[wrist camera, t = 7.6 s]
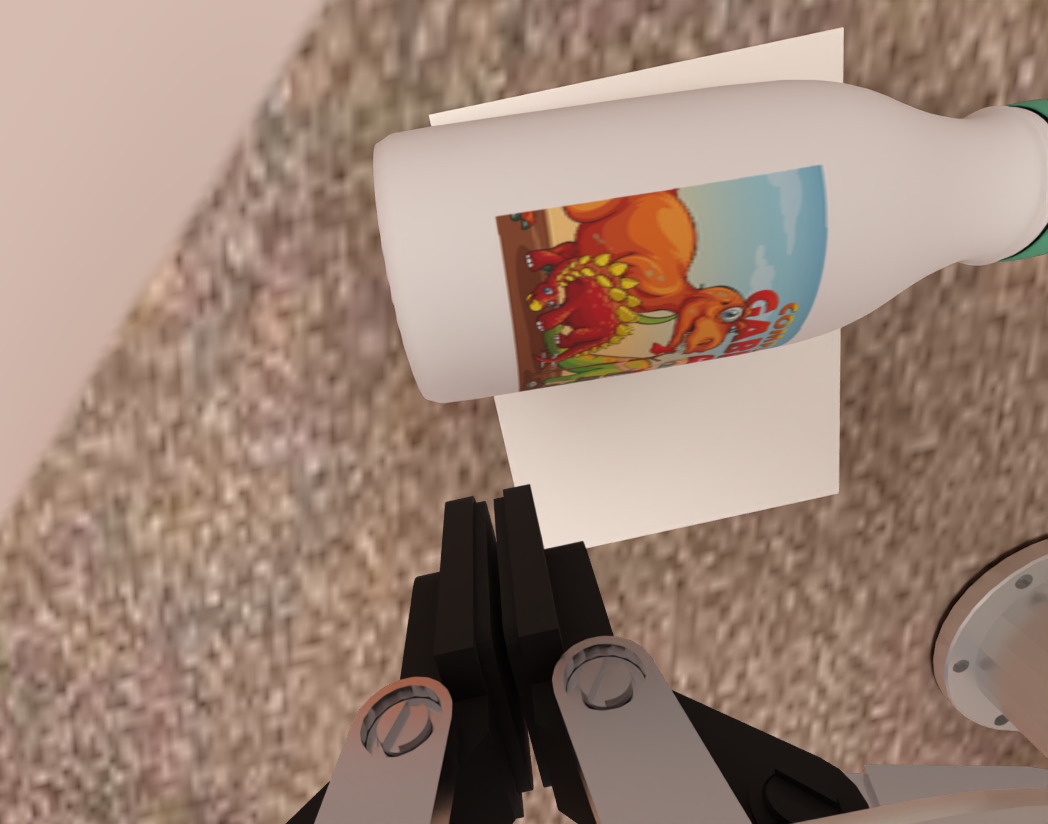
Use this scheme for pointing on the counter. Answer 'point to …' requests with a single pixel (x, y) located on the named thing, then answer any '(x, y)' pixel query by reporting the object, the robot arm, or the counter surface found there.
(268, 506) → the counter surface
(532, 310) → the milk bottle
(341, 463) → the counter surface
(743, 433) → the cutting board
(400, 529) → the counter surface
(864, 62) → the counter surface
